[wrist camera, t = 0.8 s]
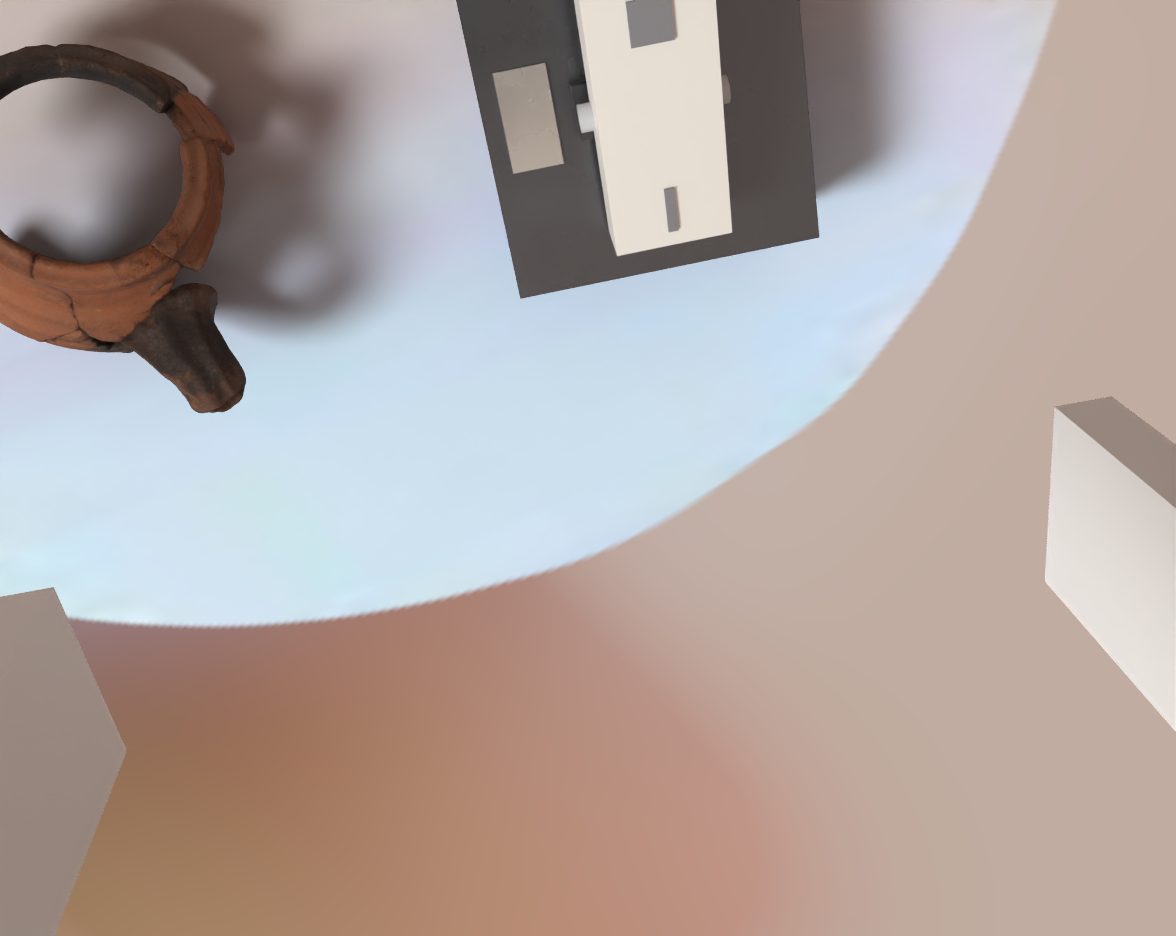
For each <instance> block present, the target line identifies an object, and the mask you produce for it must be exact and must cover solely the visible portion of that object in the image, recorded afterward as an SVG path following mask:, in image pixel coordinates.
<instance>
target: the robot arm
mask: <svg viewBox="0 0 1176 936" xmlns="http://www.w3.org/2000/svg"><path fill="white" fill-rule="evenodd" d="M1050 482H1051V483H1050V501H1049V517H1048V536H1047V554H1046V571H1045V582H1046V583H1047V584H1048V585H1049V587H1050V588H1051V589H1052V590H1053V591H1054V592H1055V593H1056V595H1057V596H1058V597H1059V598H1060V599H1061V600H1062V602H1063V603H1064V604H1065V605H1066V606H1067V607H1068V608H1069V610H1070V611H1071V612H1072V613H1073V614H1074V615H1075V616H1076V618H1077V619H1078V620H1079V621H1080V622H1081V623H1082V624H1083V626H1084V627H1085V628H1086V629H1087V630H1088V631H1089V633H1090V634H1091V635H1092V636H1093V637H1094V638H1095V639H1096V640H1097V642H1098V643H1099V644H1100V645H1101V646H1102V648H1103V649H1104V650H1105V651H1106V652H1107V653H1108V654H1109V656H1110V657H1111V658H1112V659H1113V660H1114V661H1115V662H1116V664H1118V666H1119V667H1120V668H1121V669H1122V670H1123V672H1124V673H1125V674H1126V675H1127V676H1128V677H1129V679H1130V680H1131V681H1132V682H1133V683H1134V684H1135V685H1136V687H1137V688H1138V689H1139V690H1140V691H1141V692H1142V694H1143V695H1144V696H1145V697H1146V698H1147V699H1148V700H1149V702H1150V703H1151V704H1152V705H1153V706H1154V707H1155V708H1156V710H1157V711H1158V712H1159V713H1160V714H1161V715H1162V716H1163V718H1164V719H1165V720H1166V721H1167V722H1168V723H1169V725H1170V726H1171V727H1172V728H1173V729H1174V730H1175V731H1176V444H1174V443H1173V442H1171V441H1170V440H1169V439H1167V438H1166V437H1165V436H1164V435H1162V434H1161V433H1160V432H1158V431H1157V430H1155V429H1154V428H1153V427H1152V426H1150V425H1149V424H1148V423H1146V422H1145V421H1143V420H1142V419H1141V418H1139V417H1138V416H1137V415H1136V414H1134V413H1133V412H1132V411H1130V410H1129V409H1128V408H1126V407H1125V406H1124V405H1122V404H1121V403H1119V402H1118V401H1117V400H1116V399H1114V398H1113V397H1106V398H1101V399H1095V400H1089V401H1084V402H1078V403H1073V404H1067V405H1062V406H1056V407H1055V410H1054V427H1053V446H1052V463H1051V481H1050ZM125 754H126V748H125V746H124V744H123V742H122V739H121V737H120V735H119V733H118V730H117V728H116V726H115V724H114V721H113V719H112V717H111V715H110V713H109V710H108V708H107V706H106V704H105V701H104V699H103V697H102V695H101V692H100V690H99V688H98V686H97V683H96V681H95V679H94V677H93V674H92V672H91V670H90V668H89V665H88V663H87V661H86V659H85V656H84V654H83V652H82V650H81V648H80V645H79V643H78V641H77V639H76V636H75V634H74V632H73V630H72V627H71V625H70V623H69V621H68V618H67V616H66V614H65V612H64V609H63V607H62V605H61V603H60V600H59V598H58V596H57V594H56V591H55V589H54V587H53V588H47V589H42V590H36V591H31V592H25V593H19V594H14V595H8V596H3V597H0V936H55V933H56V931H57V928H58V926H59V923H60V921H61V918H62V915H63V913H64V910H65V908H66V905H67V902H68V900H69V898H70V895H71V892H72V890H73V887H74V885H75V882H76V879H77V877H78V874H79V872H80V869H81V867H82V864H83V862H84V859H85V856H86V854H87V851H88V849H89V846H90V844H91V841H92V839H93V836H94V833H95V830H96V828H97V826H98V823H99V820H100V818H101V815H102V813H103V810H104V807H105V805H106V802H107V800H108V797H109V795H110V792H111V790H112V787H113V784H114V782H115V779H116V777H117V774H118V772H119V769H120V767H121V764H122V762H123V759H124V756H125Z"/></svg>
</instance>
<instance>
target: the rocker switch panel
mask: <svg viewBox="0 0 1176 936" xmlns="http://www.w3.org/2000/svg"><path fill="white" fill-rule="evenodd" d="M456 1H457V6H458V11H459V15H460V20H461V25H462V29H463V34H464V39H465V43H466V48H467V53H468V57H469V62H470V66H471V71H472V76H473V80H474V85H475V90H476V94H477V99H478V104H479V108H480V113H481V117H482V122H483V127H484V131H485V136H486V141H487V145H488V150H489V155H490V159H491V164H492V169H493V173H494V178H495V182H496V187H497V192H498V196H499V201H500V206H501V210H502V215H503V220H504V224H505V229H506V233H507V238H508V243H509V247H510V252H511V257H512V261H513V266H514V271H515V275H516V280H517V284H518V289H519V294H520V298H526V297H531V296H536V295H540V294H545V293H550V292H555V291H560V290H565V289H570V288H575V287H580V286H584V285H589V284H594V283H599V282H604V281H609V280H614V279H619V278H624V277H628V276H633V275H638V274H643V273H648V272H653V271H658V270H663V269H667V268H672V267H677V266H682V265H687V264H692V263H697V262H702V261H707V260H711V259H716V258H721V257H726V256H731V255H736V254H741V253H746V252H751V251H755V250H760V249H765V248H770V247H775V246H780V245H785V244H790V243H794V242H799V241H804V240H809V239H814V238H819V229H818V217H817V205H816V194H815V182H814V170H813V158H812V147H811V135H810V123H809V111H808V100H807V88H806V76H805V65H804V53H803V41H802V29H801V18H800V6H799V0H716V10H717V24H718V38H719V52H720V67H721V75H726V76H727V78H728V81H729V86H730V94H731V100H730V103H727V104H723V109H724V123H725V138H726V152H727V166H728V180H729V194H730V209H731V223H732V233H728V234H723V235H718V236H713V237H708V238H704V239H699V240H694V241H689V242H684V243H679V244H674V245H669V246H664V247H659V248H655V249H650V250H645V251H640V252H635V253H630V254H625V255H620V256H617V254H616V251H615V248H614V245H613V242H612V239H611V236H610V233H609V228H608V221H607V214H606V208H605V201H604V195H603V188H602V182H601V175H600V168H599V162H598V155H597V149H596V142H595V136H594V131H590V132H585V133H581V129H580V125H579V120H578V114H577V107H576V105H578V104H583V103H588V102H589V96H588V90H587V83H586V77H585V70H584V63H583V57H582V50H581V44H580V37H579V31H578V24H577V18H576V11H575V4H574V0H456Z"/></svg>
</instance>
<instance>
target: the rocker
mask: <svg viewBox="0 0 1176 936" xmlns="http://www.w3.org/2000/svg"><path fill="white" fill-rule="evenodd" d="M574 4H575V11H576V18H577V24H578V31H579V37H580V44H581V50H582V57H583V63H584V70H585V77H586V83H587V90H588V96H589V102H588V103H583V104H578V105H576V107H577V114H578V120H579V125H580V129H581V133H585V132H590V131H594V136H595V142H596V149H597V155H598V162H599V168H600V175H601V182H602V188H603V195H604V201H605V208H606V214H607V221H608V228H609V233H610V236H611V239H612V242H613V245H614V248H615V251H616V254H617V256H620V255H625V254H630V253H635V252H640V251H645V250H650V249H655V248H659V247H664V246H669V245H674V244H679V243H684V242H689V241H694V240H699V239H704V238H708V237H713V236H718V235H723V234H728V233H732V223H731V209H730V194H729V180H728V166H727V152H726V138H725V123H724V109H723V104H727V103H730V100H731V94H730V86H729V81H728V78H727V76H726V75H721V67H720V52H719V38H718V24H717V10H716V0H574Z"/></svg>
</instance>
